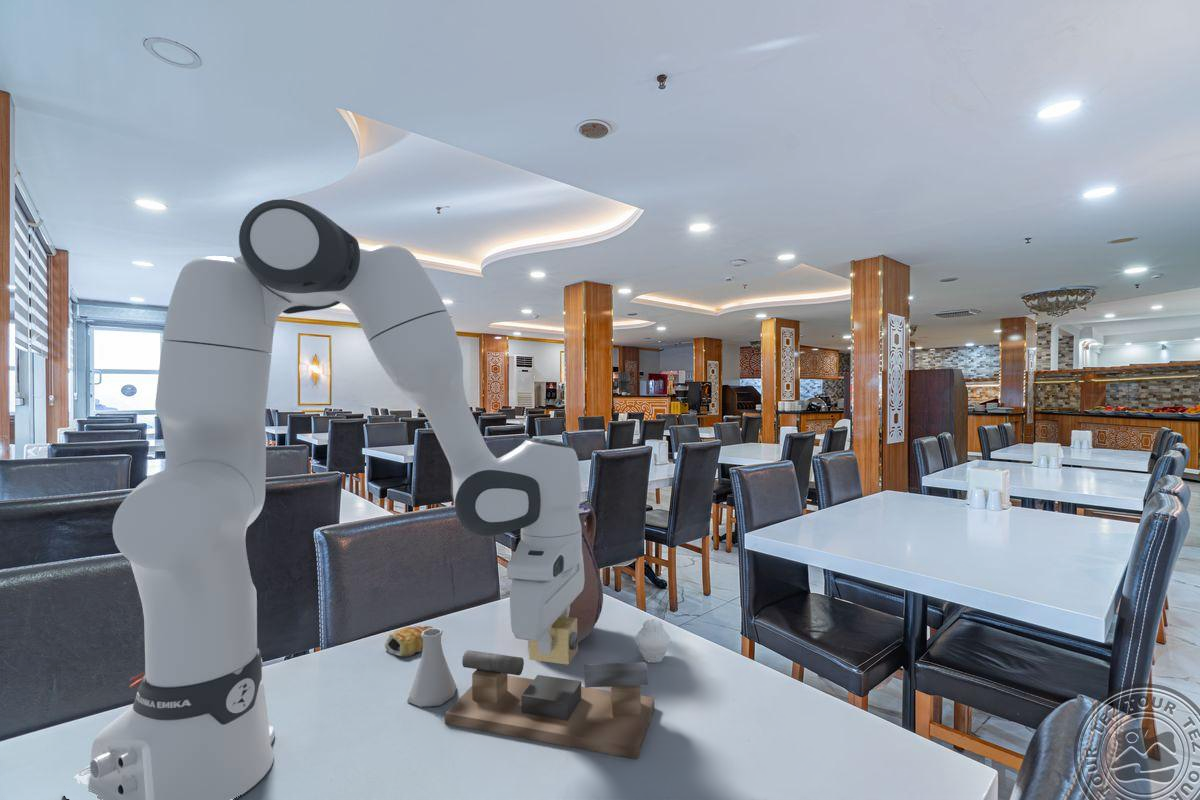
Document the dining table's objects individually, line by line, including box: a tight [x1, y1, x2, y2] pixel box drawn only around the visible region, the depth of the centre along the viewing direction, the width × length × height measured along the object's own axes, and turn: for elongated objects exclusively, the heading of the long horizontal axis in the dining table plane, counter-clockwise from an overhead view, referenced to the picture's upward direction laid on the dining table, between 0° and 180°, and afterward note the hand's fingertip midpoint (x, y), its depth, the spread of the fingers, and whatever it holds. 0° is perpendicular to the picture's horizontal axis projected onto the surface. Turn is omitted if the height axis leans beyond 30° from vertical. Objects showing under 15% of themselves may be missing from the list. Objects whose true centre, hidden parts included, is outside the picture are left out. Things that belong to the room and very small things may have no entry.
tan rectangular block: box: [528, 616, 579, 665], centre depth 80 cm, size 7×4×5 cm, turn 74°
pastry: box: [384, 625, 434, 658], centre depth 102 cm, size 9×7×4 cm
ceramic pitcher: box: [568, 501, 604, 644], centre depth 107 cm, size 18×21×25 cm
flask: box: [407, 627, 457, 708], centre depth 85 cm, size 7×7×10 cm
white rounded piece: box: [635, 618, 671, 663], centre depth 97 cm, size 6×6×7 cm
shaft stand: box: [444, 649, 655, 760], centre depth 80 cm, size 28×12×8 cm, turn 74°
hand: (553, 643), depth 80 cm, fingers closed on tan rectangular block, 4 cm apart
